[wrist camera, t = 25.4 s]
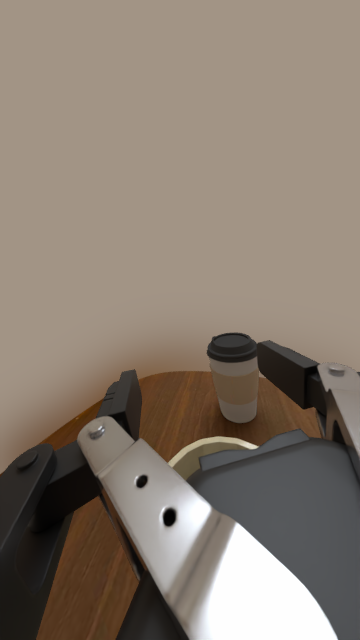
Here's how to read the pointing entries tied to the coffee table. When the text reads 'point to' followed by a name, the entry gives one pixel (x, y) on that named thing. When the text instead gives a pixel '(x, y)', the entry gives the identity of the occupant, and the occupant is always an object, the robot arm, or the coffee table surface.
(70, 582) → the coffee table surface
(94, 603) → the coffee table surface
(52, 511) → the robot arm
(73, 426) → the coffee table surface
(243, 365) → the coffee cup
